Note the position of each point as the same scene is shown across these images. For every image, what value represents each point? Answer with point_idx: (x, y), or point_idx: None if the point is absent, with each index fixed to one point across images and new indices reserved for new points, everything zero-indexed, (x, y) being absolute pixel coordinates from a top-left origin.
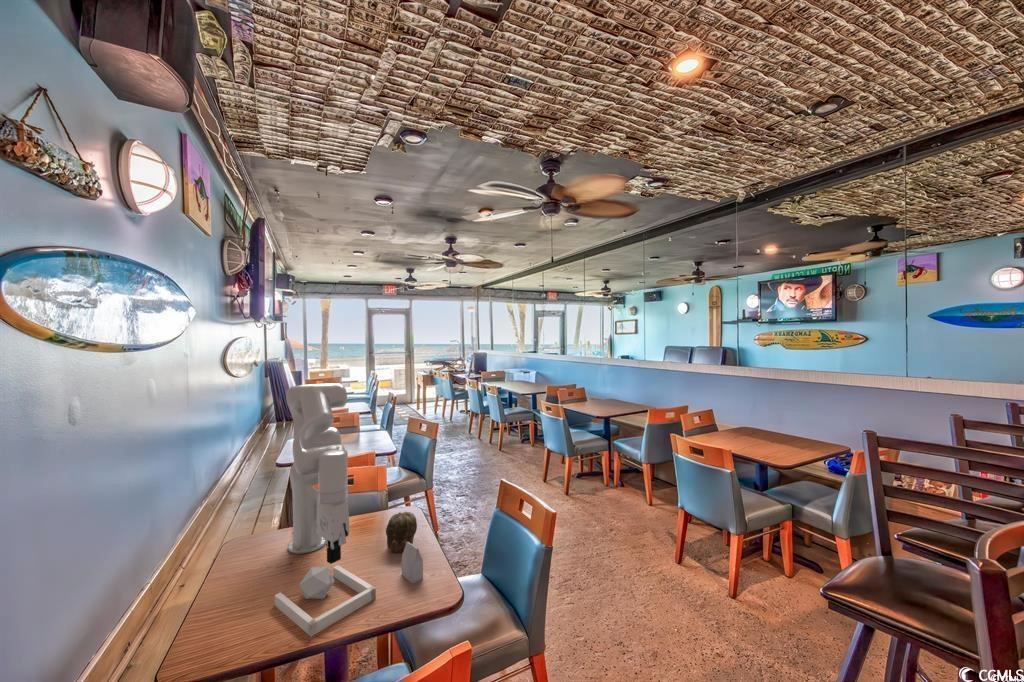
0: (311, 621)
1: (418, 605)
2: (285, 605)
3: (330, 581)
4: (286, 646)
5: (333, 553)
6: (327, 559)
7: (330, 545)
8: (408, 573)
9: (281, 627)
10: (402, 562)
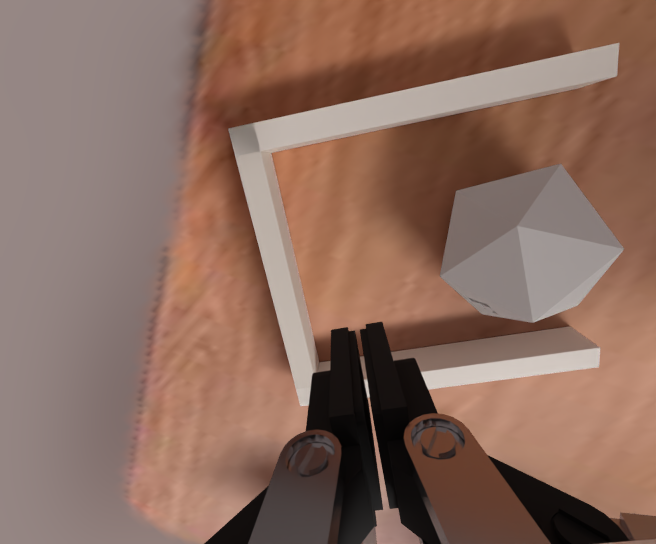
0: (252, 138)
1: (179, 448)
2: (481, 74)
3: (464, 295)
4: (247, 34)
5: (319, 409)
6: (374, 333)
7: (336, 473)
8: None
9: (387, 47)
10: (368, 534)
